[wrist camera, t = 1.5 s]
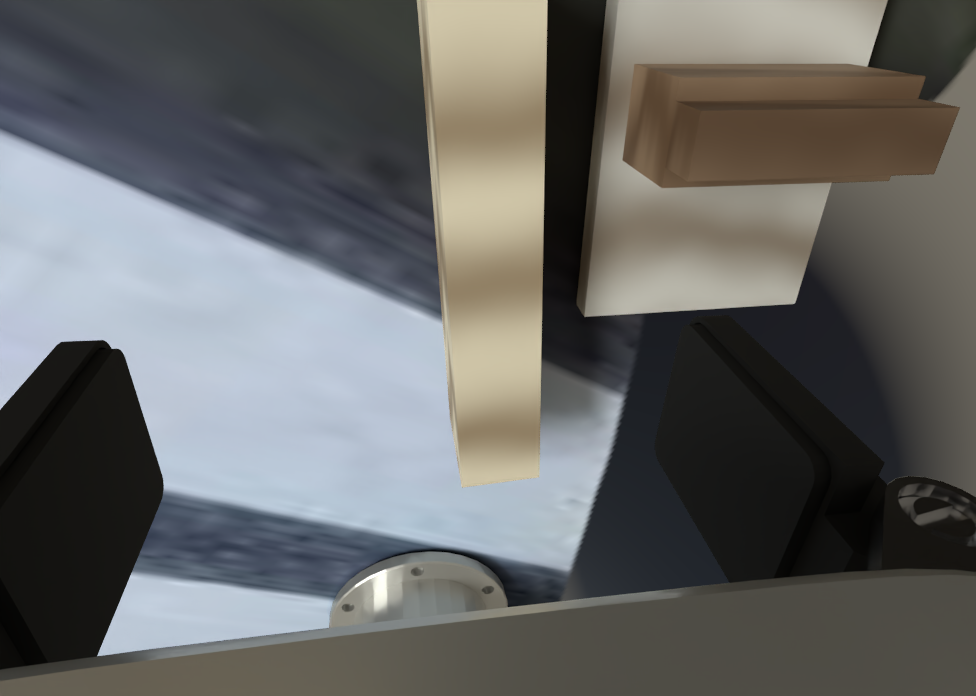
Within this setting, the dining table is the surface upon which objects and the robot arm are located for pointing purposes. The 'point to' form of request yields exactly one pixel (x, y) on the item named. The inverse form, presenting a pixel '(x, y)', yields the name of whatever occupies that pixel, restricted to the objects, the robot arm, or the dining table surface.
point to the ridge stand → (736, 146)
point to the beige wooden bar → (489, 222)
